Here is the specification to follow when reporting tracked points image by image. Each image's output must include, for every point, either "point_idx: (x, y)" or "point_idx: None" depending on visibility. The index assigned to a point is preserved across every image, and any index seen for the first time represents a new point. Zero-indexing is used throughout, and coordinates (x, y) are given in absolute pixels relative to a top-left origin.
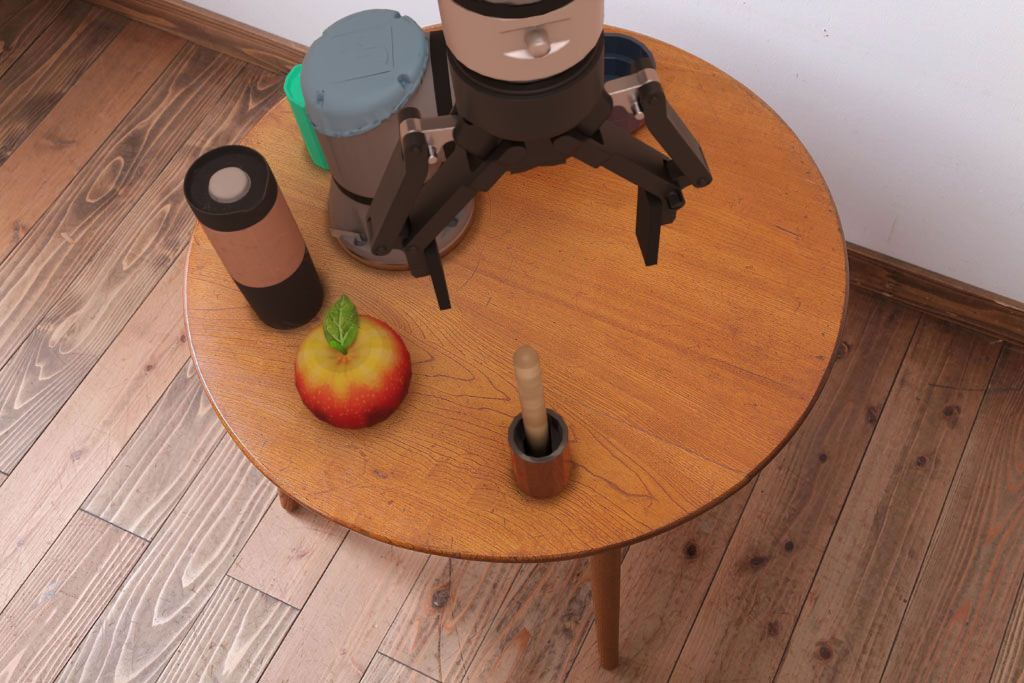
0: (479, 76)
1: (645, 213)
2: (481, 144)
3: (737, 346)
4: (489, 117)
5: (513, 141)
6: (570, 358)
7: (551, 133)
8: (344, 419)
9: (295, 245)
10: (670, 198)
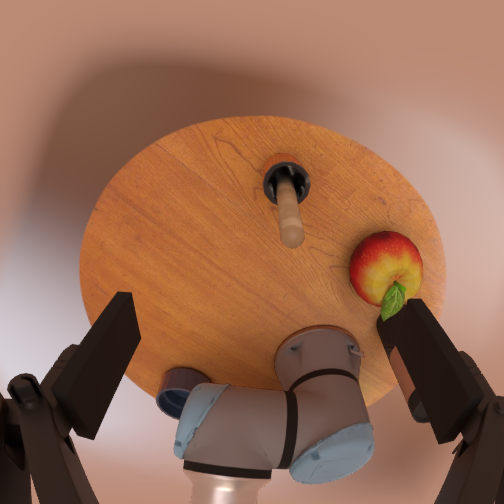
0: None
1: (94, 376)
2: None
3: (138, 227)
4: None
5: None
6: (243, 245)
7: None
8: (403, 238)
9: (400, 356)
10: (33, 396)
